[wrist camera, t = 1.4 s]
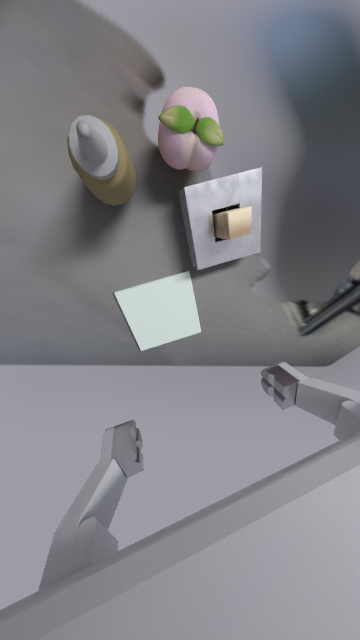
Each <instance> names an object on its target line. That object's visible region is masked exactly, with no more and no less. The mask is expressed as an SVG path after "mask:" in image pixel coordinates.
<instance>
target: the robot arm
mask: <svg viewBox="0 0 360 640" xmlns="http://www.w3.org/2000/svg"><path fill="white" fill-rule="evenodd" d="M261 375H262V376H263V378H262V380H261V384H262V387H263V389H264V391H265V392H266V393H267V394H268V395H270V396H272V397H273V398H274V401H275V402H276V403H277V404H278V406H279V407H281V409H282V410H283V409H286V408H288V407H291V406H293V405H295V406H298V407H299V408H301V409H303V410H305V411H307V412H309V413H311V414H313V415H316V416H318V417H320V418H322V419H324V420H326V421H328V422H330V423H332V424H334V425H335V429H334V436H335V437H336V438H337V439H339V440H340V441H338V442H336V443H334V444H332V445H330V446H328V447H326V448H324V449H322V450H320V451H318V452H316V453H314V454H312V455H310V456H308V457H306V458H304V459H302V460H300V461H298V462H296V463H294V464H292V465H290V466H288V467H286V468H284V469H282V470H280V471H278V472H276V473H274V474H272V475H270V476H268V477H266V478H264V479H262V480H260V481H258V482H256V483H254V484H252V485H250V486H248V487H246V488H244V489H242V490H240V491H238V492H236V493H234V494H232V495H230V496H228V497H226V498H224V499H222V500H220V501H218V502H216V503H214V504H212V505H210V506H208V507H206V508H204V509H202V510H200V511H198V512H196V513H194V514H192V515H190V516H188V517H186V518H184V519H182V520H180V521H178V522H176V523H174V524H172V525H170V526H168V527H166V528H164V529H162V530H160V531H158V532H156V533H154V534H152V535H150V536H148V537H146V538H144V539H141V540H140V541H138V542H135V543H134V544H132V545H129V546H127V547H126V548H124V549H121V550H120V551H118V541H117V539H116V538H115V537H114V536H113V535H112V534H111V533H110V532H109V531H108V528H109V526H110V523H111V521H112V518H113V516H114V513H115V510H116V508H117V505H118V502H119V500H120V497H121V495H122V492H123V489H124V487H125V484H126V482H127V478H128V477H130V476H132V475H134V474H137V473H139V472H141V471H143V470H144V469H143V455H142V453H141V449H142V438H141V434H140V431H139V429H138V428H136V422H135V421H134V420H131V421H128V422H125V423H123V424H120V425H117V426H114V427H111V428H109V429H106V430H105V432H104V437H103V443H102V449H101V456H100V462H99V464H98V465H96V466H95V468H94V470H93V471H92V473H91V474H90V476H89V478H88V479H87V481H86V482H85V484H84V486H83V487H82V489H81V491H80V492H79V494H78V496H77V497H76V499H75V500H74V502H73V504H72V505H71V507H70V508H69V510H68V512H67V514H66V515H65V516H64V518H63V520H62V521H61V523H60V525H59V526H58V528H57V530H56V531H55V533H54V536H53V540H52V544H51V547H50V550H49V554H48V558H47V561H46V565H45V568H44V572H43V576H42V579H41V583H40V586H39V590H38V591H37V592H35V593H33V594H31V595H29V596H27V597H25V598H23V599H22V600H19V601H18V602H15V603H13V604H11V605H10V606H7V607H5V608H3V609H1V610H0V640H360V391H357V390H353V389H349V388H346V387H342V386H339V385H335V384H332V383H328V382H324V381H321V380H317V379H314V378H310V377H309V378H307V377H305V376H303V375H302V374H301V373H299V372H298V371H296V370H295V369H294V368H292V367H291V366H290V365H288V364H287V363H285V362H281V363H279V364H276V365H273V366H271V367H268V368H266V369H263V370H262V371H261Z"/></svg>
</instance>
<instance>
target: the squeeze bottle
mask: <svg viewBox="0 0 360 640" xmlns="http://www.w3.org/2000/svg"><path fill="white" fill-rule="evenodd" d="M68 153H69V157H70V159H71V162H72V164H73V167H74V169H75V171H76V172H77V173H78V175H79V176H80V177H81V179H82V180H83V181H84V183H85V184H86V185H87V187H88V188H89V189H90V191H91V192H92V193H93V195H94V196H95V197H96V198H98V199H99V200H101V201H102V202H103V203H105V204H109V205H113V206H116V205H121V204H124V203H126V202H127V201H128V200H129V199H131V197H132V195H133V193H134V191H135V189H136V177H137V176H136V172H135V168H134V164H133V162H132V159H131V157H130V155H129V153H128V151H127V148H126V146H125V144H124V142H123V141H122V139H121V137H120V135H119V134H118V132H117V131H116V130H115V129H114V128H113V127H112V126H111V125H110V124H109V123H108V122H107V121H106V120H103V119H100V118H98V117H95V116H91V115H84V116H79V117H78V118H77V119H75V120H74V121H73V122H72V124H71V127H70V130H69V136H68Z"/></svg>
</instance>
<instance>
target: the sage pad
mask: <svg viewBox="0 0 360 640" xmlns="http://www.w3.org/2000/svg"><path fill="white" fill-rule="evenodd" d="M114 294H115V296H116V298H117V300H118V302H119V305H120V307H121V309H122V311H123V313H124V315H125V317H126V320H127V322H128V324H129V326H130V328H131V330H132V332H133V335H134V337H135V339H136V341H137V343H138V345H139V347H140V350H141V351H143V350H146V349H149V348H152V347H155V346H158V345H162V344H165V343H168V342H171V341H174V340H177V339H180V338H184V337H187V336H190V335H193V334H196V333H199V332H201V328H200V323H199V318H198V313H197V308H196V302H195V297H194V292H193V287H192V282H191V277H190V272H189V271H186V272H182V273H179V274H175V275H172V276H168V277H165V278H161V279H158V280H155V281H151V282H148V283H144V284H141V285H137V286H134V287H131V288H127V289H124V290H120V291H117V292H114Z"/></svg>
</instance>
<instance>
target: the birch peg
mask: <svg viewBox="0 0 360 640" xmlns="http://www.w3.org/2000/svg"><path fill="white" fill-rule="evenodd" d="M212 217H213V226H214V236H215V237H216V238H222V239H228V240H231V239H234V238H238V237H241V236H245V235H248V234H252V206H250V207H244V208H238V209H232V210H227V211H222V212H218V213H215V214H212Z"/></svg>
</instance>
